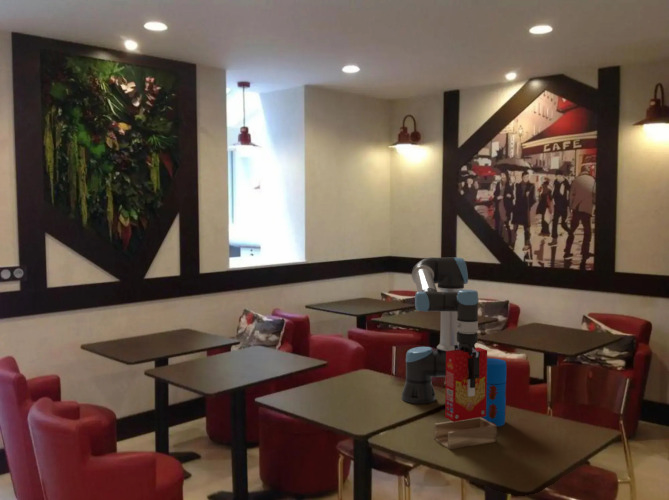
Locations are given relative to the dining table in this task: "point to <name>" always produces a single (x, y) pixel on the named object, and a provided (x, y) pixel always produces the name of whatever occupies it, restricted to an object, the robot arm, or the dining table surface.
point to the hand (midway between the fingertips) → (466, 393)
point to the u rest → (465, 433)
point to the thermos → (496, 391)
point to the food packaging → (464, 386)
